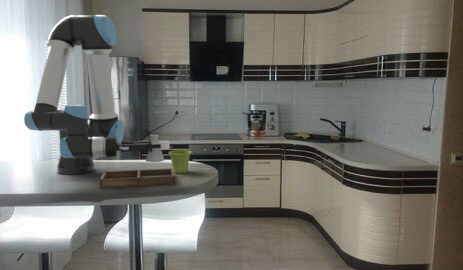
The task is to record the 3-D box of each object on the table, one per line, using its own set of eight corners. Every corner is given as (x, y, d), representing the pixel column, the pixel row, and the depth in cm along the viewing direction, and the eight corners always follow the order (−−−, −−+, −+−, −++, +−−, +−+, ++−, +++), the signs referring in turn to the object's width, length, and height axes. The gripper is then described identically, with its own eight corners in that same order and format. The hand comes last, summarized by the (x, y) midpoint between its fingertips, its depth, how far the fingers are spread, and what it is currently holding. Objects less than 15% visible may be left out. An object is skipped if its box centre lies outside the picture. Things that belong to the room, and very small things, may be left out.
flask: (160, 162, 141) (159, 136, 140) (142, 162, 143) (141, 135, 142) (167, 159, 148) (166, 134, 147) (150, 159, 150) (149, 133, 149)
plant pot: (182, 175, 156) (181, 154, 155) (164, 172, 161) (164, 152, 160) (195, 171, 164) (195, 151, 162) (179, 168, 169) (178, 149, 167)
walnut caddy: (104, 179, 150) (103, 171, 149) (173, 175, 156) (172, 168, 155) (100, 188, 136) (99, 180, 136) (175, 183, 142) (175, 176, 142)
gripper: (108, 153, 149) (168, 151, 154) (103, 160, 134) (170, 158, 139) (107, 134, 149) (167, 133, 154) (102, 139, 133) (170, 137, 138)
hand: (169, 144), depth 146 cm, fingers closed on flask, 3 cm apart
